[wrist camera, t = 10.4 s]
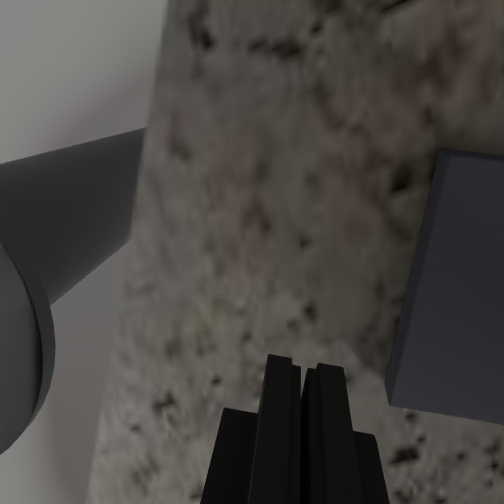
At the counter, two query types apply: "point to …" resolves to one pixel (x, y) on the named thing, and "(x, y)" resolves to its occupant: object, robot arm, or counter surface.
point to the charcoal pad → (455, 296)
